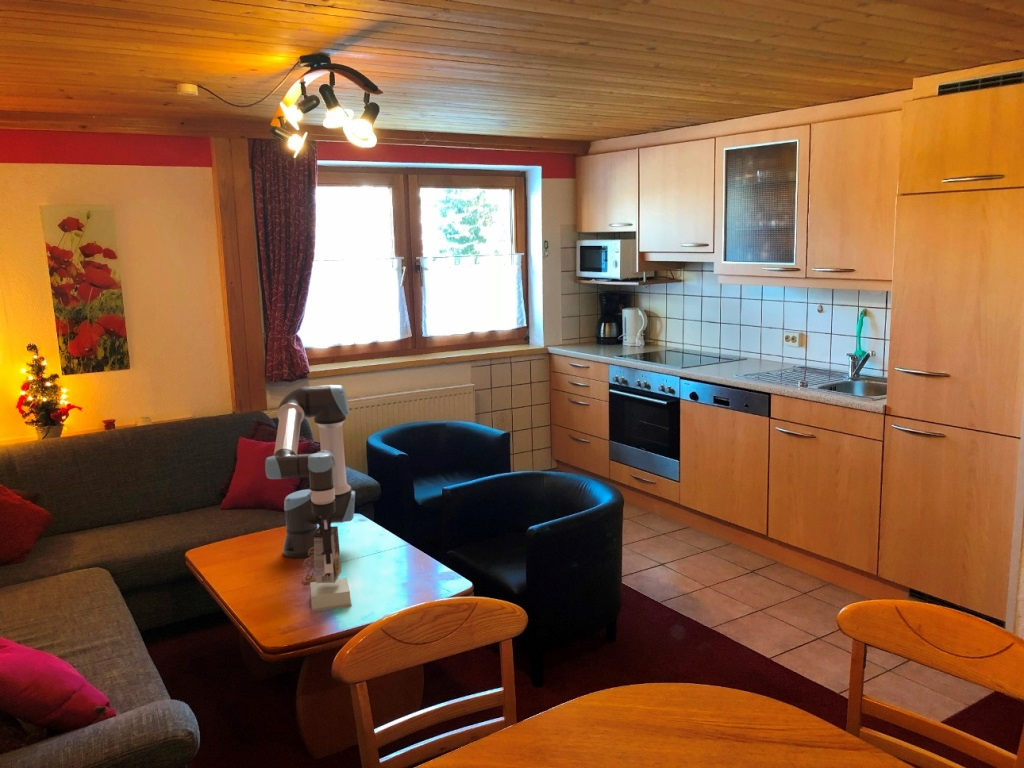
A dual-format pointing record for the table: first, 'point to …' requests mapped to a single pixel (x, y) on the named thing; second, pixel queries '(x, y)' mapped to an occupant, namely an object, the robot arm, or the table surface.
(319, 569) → the coffee box
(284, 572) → the table surface
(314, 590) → the pedestal
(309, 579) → the gingerbread man figurine
